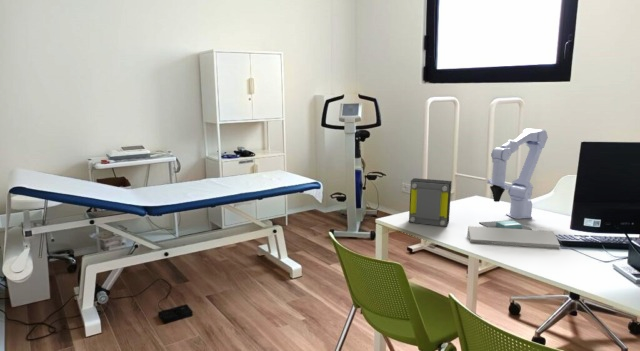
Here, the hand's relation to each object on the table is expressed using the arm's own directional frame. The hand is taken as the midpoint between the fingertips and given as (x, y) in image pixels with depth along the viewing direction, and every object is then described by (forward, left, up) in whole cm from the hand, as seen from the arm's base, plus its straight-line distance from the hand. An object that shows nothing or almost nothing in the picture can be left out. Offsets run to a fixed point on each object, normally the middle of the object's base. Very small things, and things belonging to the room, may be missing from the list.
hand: (496, 201), depth 217 cm
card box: (0, +7, -9) cm, 11 cm away
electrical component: (+32, -5, -10) cm, 34 cm away
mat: (0, +8, -10) cm, 13 cm away
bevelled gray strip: (+10, +27, -11) cm, 31 cm away
